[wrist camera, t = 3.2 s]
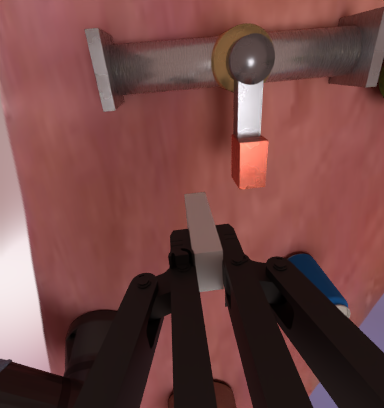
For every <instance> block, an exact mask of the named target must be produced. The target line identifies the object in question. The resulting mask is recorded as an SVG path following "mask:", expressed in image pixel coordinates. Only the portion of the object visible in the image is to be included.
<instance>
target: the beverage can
mask: <svg viewBox="0 0 384 408" xmlns="http://www.w3.org/2000/svg"><path fill="white" fill-rule="evenodd" d="M288 260H289V261H290V262H292V263H293V264H294V265H295V266H296V267H297V268H298V269H299V270H300V271H301V272H302V273H303V274H304V275H305V276H306V277H307V278H308V279H309V280H310V281H311V282H312V283H313V284H314V285H315V286H316V287H317V288H318V289H319V290H320V291H321V292H322V293H323V294H324V295H325V296H326V297H327V298H328V299H329V300H330V301H331V302H332V303H333V304H334V305H335V306H336V307H337V308H339V309H340V310H341V311H342V312H343V313H344V314H345V315H346V316H347V317H348V318H349V317H350V310H349V309H348V304H347V301H346V300H345V299H344V297H343V296H342V295H341V293H340V292H339V291H338V290H337V288H336V287H335V286H334V284H333V283H332V282H331V281H330V279H329V278H328V277H327V275H326V274H325V273H324V272H323V270H322V269H321V268H320V266H319V265H318V264H317V263H316V261H315V260H314V259H313V257H312V256H310V255H308V254H296V255H293V256H291V257H289V258H288Z"/></svg>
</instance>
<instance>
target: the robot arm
mask: <svg viewBox="0 0 384 408" xmlns="http://www.w3.org/2000/svg"><path fill="white" fill-rule="evenodd" d="M184 196H185V206H186V216H187V226H188V229H183V230H174V231H173V232H172V234H171V235H170V246H171V252H170V253H169V256H168V258H169V265H170V268H169V269H168V270H167V271H166V272H165V273H163V274H161V275H158V276H155V275H153V274H151V273H142V274H139V275H137V276H136V277H135V278H133V280H132V281H131V283H130V285H129V287H128V289H127V291H126V294H125V296H124V298H123V300H122V302H121V304H120V307H119V309H118V311H107V310H105V311H95V312H90V313H87V314H84V315H82V316H80V317H79V318H77V319H76V320H75V321H74V322H73V323H72V324H71V326H70V328H69V330H68V333H67V336H66V340H65V373H64V376H63V377H62V376H59V375H56V374H52V373H49V372H45V371H42V370H38V369H35V368H31V367H28V366H24V365H21V364H17V363H14V362H12V360H10V359H9V360H3V359H0V408H140V404H141V401H142V397H143V393H144V389H145V386H146V382H147V378H148V375H149V371H150V367H151V364H152V360H153V356H154V353H155V349H156V345H157V342H158V338H159V334H160V330H161V327H162V323H163V319H164V316H166V315H168V314H170V313H171V318H172V354H173V390H174V408H217V402H216V396H215V389H214V383H213V376H212V370H211V363H210V357H209V350H208V344H207V337H206V331H205V324H204V318H203V311H202V305H201V298H200V292H203V291H211V290H219V289H224V288H223V284H224V287H225V307H227V306H228V310H229V314H230V318H231V322H232V326H233V330H234V334H235V338H236V341H237V345H238V349H239V353H240V357H241V361H242V365H243V369H244V373H245V377H246V381H247V385H248V389H249V393H250V397H251V401H252V405H253V408H313V406H312V404H311V401H310V399H309V397H308V394H307V392H306V390H305V387H304V385H303V383H302V380H301V378H300V376H299V373H298V371H297V369H296V366H295V364H294V362H293V359H292V357H291V355H290V352H289V350H288V348H287V345H286V343H285V340H284V338H283V336H282V333H281V331H280V329H279V326H280V327H281V329H282V330H283V331H284V333H285V334H286V335H287V337H288V338H289V340H290V341H291V342H292V344H293V345H294V347H295V348H296V349H297V351H298V352H299V354H300V355H301V356H302V358H303V359H304V360H305V362H306V363H307V365H308V366H309V367H310V369H311V370H312V372H313V373H314V374H315V376H316V377H317V378H318V380H319V381H320V383H321V384H322V385H323V387H324V388H325V389H326V391H327V392H328V394H329V395H330V396H331V398H332V399H333V400H334V402H335V403H336V405H337V406H338V408H384V353H383V352H382V351H381V350H380V349H379V348H378V347H377V346H376V345H375V344H374V343H373V342H372V341H371V340H370V339H369V338H368V337H367V336H366V335H365V334H364V333H363V332H362V331H361V330H360V329H359V328H358V327H357V326H356V325H355V324H354V323H353V322H352V321H351V320H350V319H349V318H348V317H347V316H346V315H345V314H344V313H343V312H342V311H341V310H340V309H339V308H337V307H336V306H335V305H334V304H333V303H332V302H331V301H330V300H329V299H328V298H327V297H326V296H325V295H324V294H323V293H322V292H321V291H320V290H319V289H318V288H317V287H316V286H315V285H314V284H313V283H312V282H311V281H310V280H309V279H308V278H307V277H306V276H305V275H304V274H303V273H302V272H301V271H300V270H299V269H298V268H297V267H296V266H295V265H294V264H293V263H292V262H290V261H289V260H288V259H286V258H283V257H272V258H270V259H268V260H267V262H266V263H261V262H255V261H252V260H250V259H249V257H248V256H247V255H245V254H244V252H243V250H242V248H241V245H240V243H239V240H238V239H237V235H236V233H235V231H234V228H233V227H232V226H230V225H229V224H222V225H215V223H214V220H213V217H212V213H211V210H210V207H209V204H208V200H207V197H206V194H205V192H200V193H191V194H184ZM277 323H278V324H279V326H278V324H277Z"/></svg>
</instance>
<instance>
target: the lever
mask: <svg viewBox="0 0 384 408" xmlns="http://www.w3.org/2000/svg"><path fill="white" fill-rule="evenodd" d="M274 62H275V51H274V47H273V45H272V43H271V41H270V40H269V39H268V38H267V37H266V36H264V35H262V34H258V33H253V34H249V35H246V36H243V37H241V38H239V39H237V40H236V41H235V42H233V44H232V45H231V46H230V48H229V50H228V52H227V55H226V69H227V72H228V74H229V75H230V77H231V78H232V79H233V80H234V121H233V134H232V178H233V180H234V181H235V183H236V185H237V186H238V188H239V189H248V188H257V187H265V180H266V166H267V152H268V140H267V139H266V138H264V137H263V136H261V135H260V132H261V114H262V97H263V80H264V79H265V78H266V77H267V76H268V75H269V74H270V72H271V70H272V68H273V66H274Z"/></svg>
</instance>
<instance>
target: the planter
mask: <svg viewBox="0 0 384 408" xmlns="http://www.w3.org/2000/svg"><path fill="white" fill-rule="evenodd" d="M213 383H214V389H215V396H216V402H217V408H236V403H235V399H234V395H233V392H232V390H231V389H230V388H229V387H228V386H227V385H225V384H223V383H220V382H216V381H213ZM168 408H174V393H173V394H172V395H171V397H170V398H169V401H168Z"/></svg>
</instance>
